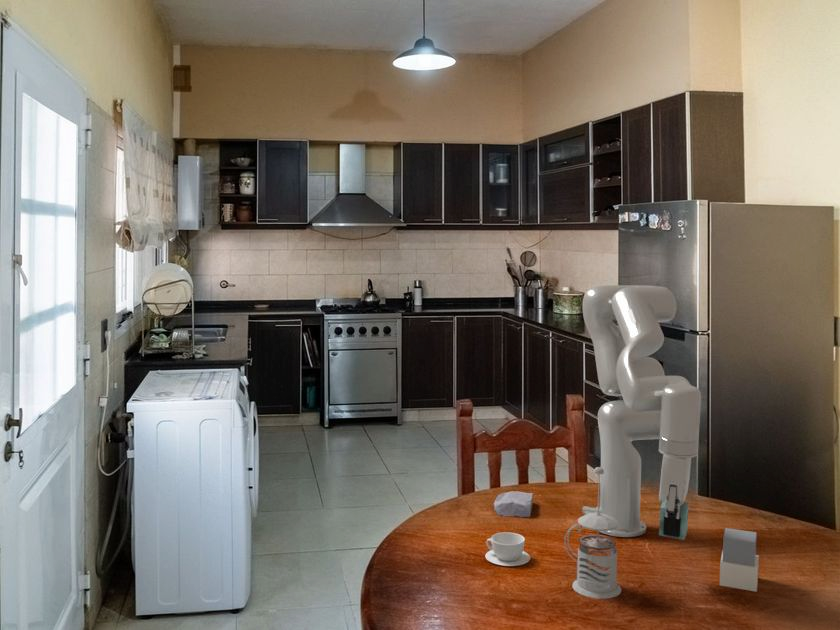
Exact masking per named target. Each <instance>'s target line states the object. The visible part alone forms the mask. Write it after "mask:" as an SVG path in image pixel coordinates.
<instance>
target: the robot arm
mask: <svg viewBox="0 0 840 630" xmlns="http://www.w3.org/2000/svg"><path fill="white" fill-rule="evenodd" d="M677 309H678V307H677V301H676V298H675V295H674V294H673V292H672V291H671V290H670V289H669V288H667V287H665V286H657V285H648V284H647V285H645V284H642V285H640V284H638V285H637V284H635V285H634V284H631V285H630V284H629V285H628V284H627V285H625V284H624V285H623V284H622V285H619V284H614V285H613V284H611V285H600V286H595V287H591V288H590V289H588V290H587V291H586V292H585V293H584V295H583V299H582V316H583V320H584V324H585V327H586V330H587V332H588V333H589V335H590V338H591V341H592V346H593V350H594V357H595V358H594V359H595V365H596V372H597V379H598V384H599V388H600V390H601V391H602V393H603V394H604V395H605V396H606V395H607V396H612V397H622V400H620V399H619V400H612V401H611V400H610V401H607V402H605V403H604V404H602V405H601V406H600V407H599V409H598V411H597V424H598V432H599V439H600V441H599V442H600V467H601V468H602V469H603V470H604V474H600V479H599V513H602V514H606V515H608V516H611V517H613V518H614V519H615V520H617V522H618V523H619V525H618V527H617V528H616V529H614V530H610V531H598V533H601V534H604V535H606V536H607V535H608V536H611V537H616V538H617V537H619V538H632V537H633V538H634V537H639V536H642V535H643V534H646V532H647V525H646V523H645V522H644V521H642V520H640V519H641V491H642V489H641V485H642V458H641V456H640V453H639V452H638V450H637V449H636V447H634V445H633V444H632V442H633V441H638V440H639V441H640V440H642V441H643V440H645V441H646V440H658V452H659V453H660V454H662V455H663V456H662V461H661V462H662V463H661V469H660V470H661V472H660V479H659V480H660V483H659V491H658V501H659V502H660V503H662V502H664V501H665V499H666V509H665V515H664V528H663V534H664V535H668V536H673V537H679V536H680V526H681V518H680V507H681V505H683V504H684V502H686V498H687V495H688V490H689V484H690V476H691V467H692V466H691V465H692V459H693V458H696V457H697V456H698V455H699V454H698V452H699V440H700V439H699V437H700V423H701V422H700V421H701V406H702V393H701V391H700V389H699V388H698V387H696V386H694V385H692V384H691V383H690V382H689V380H688V379H687V378H686V377H685V376H680V375H665V371H664V368H663V366H662V364H661V363H660V362H659V361H658V359H655V358H654V357H649V356H651V355H653V354H654V353H656V352H657V351H659V350H660V349H661V348H662V346H663V345H664V341H665V335H664V333H663V331H662V328H661V325H660V323H668V322H671V321H672V320H673V319H674V318H675V316H676V314H677ZM613 320H616V322H617V324H616V323H615V322H613ZM675 501H679V502H678V503H676V502H675ZM675 506H677V509H675ZM581 510H582V514H583V515H586V514H589V513H598V506H595V507H591V506H585V505H582V509H581Z"/></svg>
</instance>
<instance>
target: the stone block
mask: <svg viewBox="0 0 840 630" xmlns="http://www.w3.org/2000/svg"><path fill="white" fill-rule="evenodd" d="M533 495H534V494H533V492H530V493H529V492H523V491H517V490H515V491H511V490H510V491H507V492H505V491H504V492H501V493H499V494H498V496H497V497H496V498H495V500H494V503H493V506H494V511H496V512H495V513H496V515H497V514H498V515H497V516H499V515H503V516H502V517H505V516H521V517H520V518H527V517H528V518H530V517H531V514H532V508H533V502H534V496H533Z"/></svg>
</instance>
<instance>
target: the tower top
mask: <svg viewBox="0 0 840 630" xmlns="http://www.w3.org/2000/svg"><path fill="white" fill-rule="evenodd" d="M757 534H758V533H757V532H756V531H749V530H741V529H736V528H728V527H725V528H724V533H723V536H722V537H723V538H722V540H723V541H722V551H723V562H729V563H736V564H742V565H748V566H754V567H755V557H756V555H757V553H756V552H757Z"/></svg>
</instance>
